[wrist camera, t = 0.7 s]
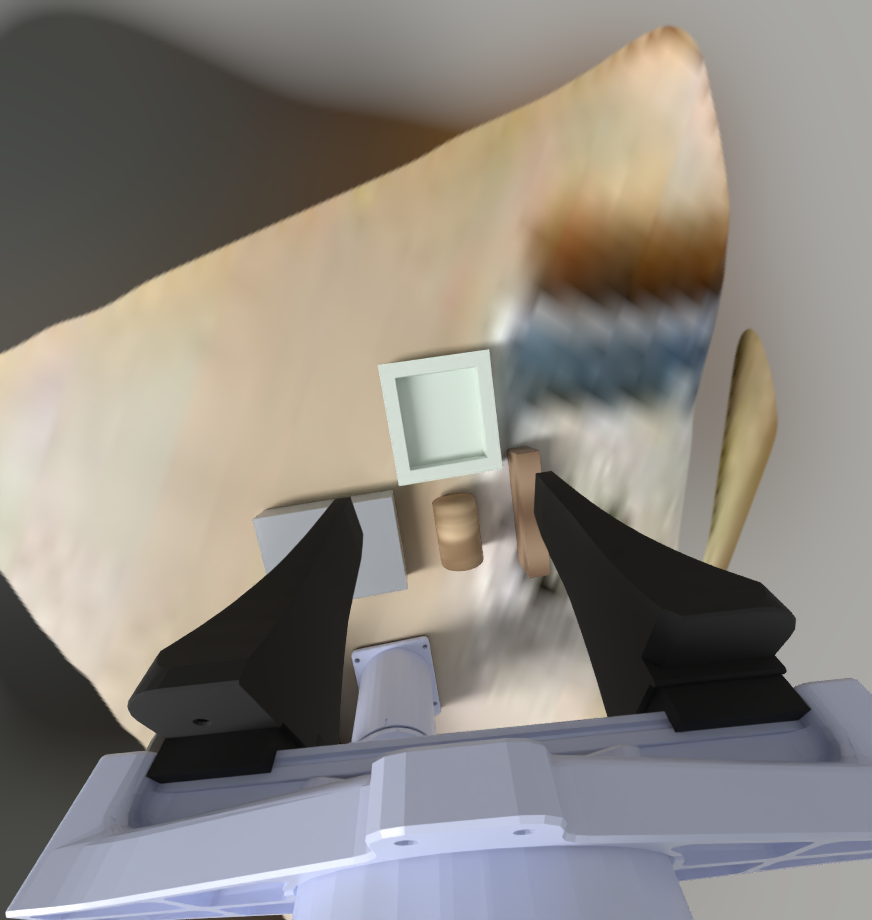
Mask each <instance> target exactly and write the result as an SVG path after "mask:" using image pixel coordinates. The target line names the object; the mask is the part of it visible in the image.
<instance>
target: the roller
mask: <svg viewBox="0 0 872 920" xmlns="http://www.w3.org/2000/svg"><path fill="white" fill-rule="evenodd" d="M432 504H433V511H434V517H435V524H436V530H437V536H438V543H439V549H440V556H441V562H442V565H443V567H444V568H446V569H448V570H452V571H466V570H470V569H473V568H475V567H477V566H479V565H480V564H481V563H482V562H483V551H482V543H481V535H480V528H479V520H478V512H477V505H476V497H475V496H474V495H472V494H467V493H456V494H450V495H445V496H442V497H439V498H437V499H435V500H434V501H433V503H432Z"/></svg>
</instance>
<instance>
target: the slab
mask: <svg viewBox="0 0 872 920" xmlns="http://www.w3.org/2000/svg"><path fill="white" fill-rule="evenodd" d="M349 497H351V500H352V502H353V505H354V508H355V511H356V514H357V517H358V520H359V523H360V525H361V528H362V531H363V548H362V558H361V563H360V568H359V573H358V577H357V582H356V586H355V591H354V595H353V599H356V598H362V597H367V596H373V595H378V594H384V593H389V592H395V591H401V590H406V589H408V588H407V570H406V564H405V558H404V552H403V547H402V541H401V535H400V529H399V523H398V517H397V511H396V505H395V499H394V493H393V490H387V491H381V492H374V493H368V494H362V495H356V496H349ZM343 498H345V497H343ZM334 500H335V499H330V500H324V501H318V502H312V503H305V504H299V505H293V506H286V507H280V508H274V509H268V510H264V511H263V512H261V513H260V514H259V515H258V516H256V517H255V518H254V519H253V523H254V527H255V531H256V535H257V539H258V543H259V547H260V551H261V555H262V559H263V563H264V567H265V571H266V575H267V574H268V573H269V572H270V571H271V570H272V569H273V568H275V567H276V566H277V565H278V564H279V563H280V562H281V561H282V560H283V559H284V558H285V557H286V556H287V555H288V553H289V552H290V551H291V550H292V549H293V548H294V547H295V546H296V545H297V544H298V543H299V542H300V540H301V539H302V538H303V537H304V536H305V535H306V534H307V532H308V531H309V530H310V529H311V528H312V526H313V525H314V524H315V523H316V522H317V520H318V519H319V518H320V517H321V515H322V514H323V513H324V512H325V511H326V509H327V508H328V507H329V506H330V504H331V503H332V502H333V501H334Z"/></svg>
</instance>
